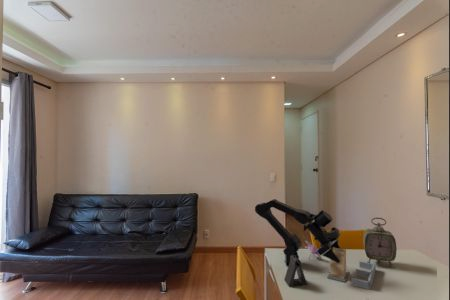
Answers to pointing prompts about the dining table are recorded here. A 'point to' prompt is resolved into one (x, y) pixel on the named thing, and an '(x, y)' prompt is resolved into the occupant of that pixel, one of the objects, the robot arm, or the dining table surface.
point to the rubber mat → (339, 278)
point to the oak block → (340, 267)
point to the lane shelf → (364, 275)
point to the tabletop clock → (379, 244)
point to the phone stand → (292, 268)
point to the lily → (312, 249)
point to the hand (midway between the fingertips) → (341, 259)
